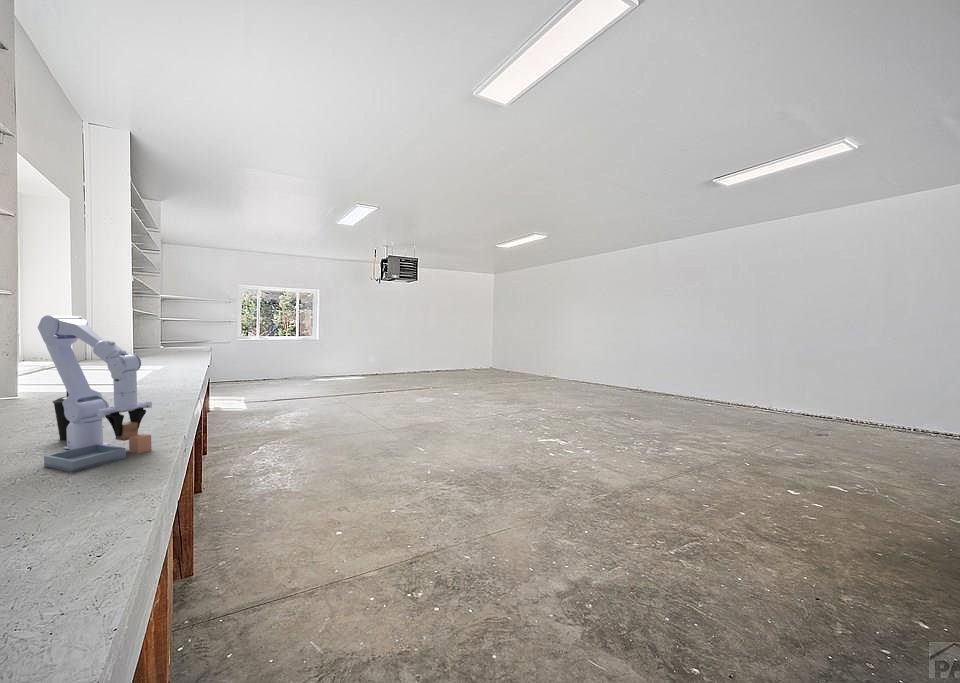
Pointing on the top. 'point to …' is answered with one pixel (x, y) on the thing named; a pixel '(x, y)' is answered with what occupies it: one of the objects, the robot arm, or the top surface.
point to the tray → (84, 457)
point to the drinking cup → (61, 417)
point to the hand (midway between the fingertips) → (126, 433)
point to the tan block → (128, 430)
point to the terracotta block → (140, 443)
